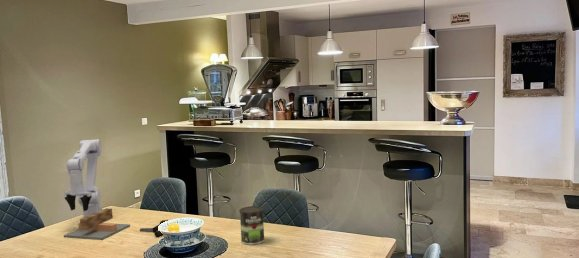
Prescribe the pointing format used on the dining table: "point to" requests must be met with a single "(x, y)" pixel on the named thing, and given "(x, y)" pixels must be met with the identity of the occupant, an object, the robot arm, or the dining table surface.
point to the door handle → (153, 229)
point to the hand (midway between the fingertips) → (79, 210)
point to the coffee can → (252, 225)
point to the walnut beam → (96, 219)
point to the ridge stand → (97, 231)
